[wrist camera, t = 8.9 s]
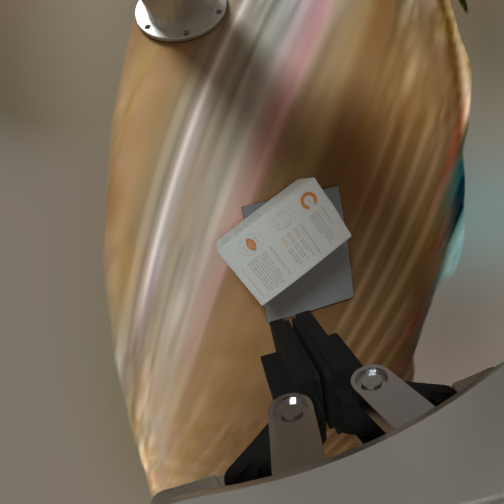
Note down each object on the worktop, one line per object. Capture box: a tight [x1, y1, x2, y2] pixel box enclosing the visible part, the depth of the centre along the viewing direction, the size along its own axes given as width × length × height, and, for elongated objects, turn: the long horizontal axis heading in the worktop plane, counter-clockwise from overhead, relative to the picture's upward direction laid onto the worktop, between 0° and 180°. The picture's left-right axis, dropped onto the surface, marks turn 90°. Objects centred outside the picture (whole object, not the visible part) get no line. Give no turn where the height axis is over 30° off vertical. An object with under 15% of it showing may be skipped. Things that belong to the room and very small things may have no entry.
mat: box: [241, 186, 354, 323], centre depth 39 cm, size 16×13×1 cm
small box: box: [217, 177, 352, 306], centre depth 34 cm, size 8×6×13 cm
